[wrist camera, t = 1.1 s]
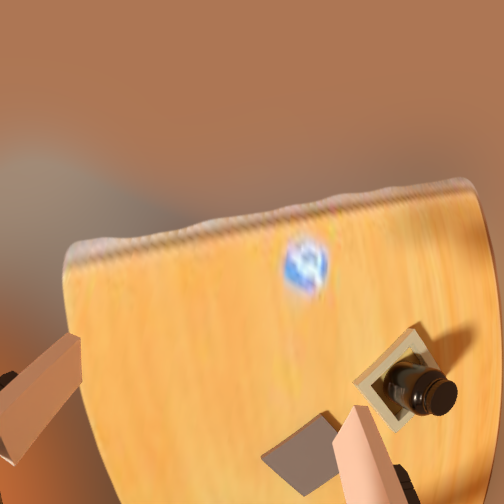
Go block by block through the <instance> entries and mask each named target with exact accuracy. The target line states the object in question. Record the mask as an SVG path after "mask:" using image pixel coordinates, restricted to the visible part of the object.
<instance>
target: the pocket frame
mask: <svg viewBox="0 0 504 504" xmlns="http://www.w3.org/2000/svg"><path fill="white" fill-rule="evenodd" d="M409 347H410V348H411V349H412V351H413V352H414V354H415V355H416V357H417V358H418V360H419V361H420V363H421V364H422V365H424V366H428V367H431V368H435V369H438V370H440V371H441V369H440V368H439V366H438V365H437V363H436V361H435V360H434V358H433V357H432V355H431V353H430V352H429V350H428V349H427V347H426V346H425V344H424V342H423V341H422V339H421V338H420V336H419V335H418V333H417V332H416V330H415V329H411V328H408V329H407V330H406V331H405V332H404V333H403V334H402V335H401V336H400V337H399V338H398V339H397V340H396V341H395V342H394V343H393V344H392V345H391V346H390V347H389V348H388V349H387V350H386V351H385V352H384V353H383V354H382V355H381V356H380V357H379V358H378V359H377V360H376V361H375V362H374V363H373V364H372V365H371V366H370V367H369V368H368V369H367V370H366V371H364V372H363V373H362V374H361V375H360V376H359V377H358V378H357V379H356V380H355V381H353V382H352V383H353V384H354V385H355V386H356V388H357V389H358V390H359V391H360V392H361V394H362V395H363V396H364V397H365V399H366V400H367V401H368V402H369V404H370V405H371V406H372V407H373V409H374V410H375V411H376V412H377V413H378V415H379V416H380V417H381V418H382V420H383V421H384V422H385V423H386V425H387V426H388V427H389V428H390V429H391V430H392V431H393V432H395V433H397V432H398V431H399V430H400V429H401V428H402V427H403V426H404V425H405V424H406V423H407V422H408V421H409V420H410V419H411V418H412V417H413V416H414V415H415V414H414V413H412V412H410V411H408V410H406V409H405V408H402V409H401V410H400V411H399V412H398V413H397V414H396V415H395V416H394V415H393V414H392V412H391V411H390V410H389V408H388V407H387V406H386V405H385V403H384V402H383V401H382V399H381V398H380V397H379V396H378V394H377V393H376V392H375V391H374V389H373V388H372V387H371V385H372V384H373V383H374V382H375V381H376V380H377V379H378V378H379V377H380V376H381V375H382V374H383V373H384V372H385V371H386V370H387V369H388V368H389V367H390V366H391V365H392V364H393V363H394V362H395V361H396V360H397V359H398V358H399V357H400V356H401V355H402V354H403V353H404V352H405V351H406V350H407V349H408V348H409Z"/></svg>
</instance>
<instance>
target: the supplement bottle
mask: <svg viewBox="0 0 504 504" xmlns="http://www.w3.org/2000/svg"><path fill="white" fill-rule="evenodd" d="M383 390H384V394H385V396H386V397H387V398H388V399H389V400H390V401H392V402H394V403H395V404H397V405H399V406H401V407H403V408H405V409H406V410H408V411H410V412H412V413H414V414H416V415H419V416H426V415H429V414H433V415H435V416H441V415H444V414H446V413H447V412H449V410H451V408H452V407H453V405H454V404H455V401H456V398H457V394H458V393H457V392H458V390H457V387H456V385H455V383H453V382H452V381H450V380H447V378H446V376H445V374H444V373H443V372H442V371H440V370H438V369H435V368H431V367H428V366H424V365H420V364H416V363H413V362H408V361H402V362H399V363H397V364H395V365H394V366H393V367H391V368H390V370H389V371H388V372H387V374H386V376H385V378H384V382H383Z"/></svg>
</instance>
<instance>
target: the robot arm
mask: <svg viewBox="0 0 504 504" xmlns="http://www.w3.org/2000/svg"><path fill="white" fill-rule="evenodd" d="M81 383H82V370H81V344H80V337H77V336H75V335H72V334H70V333H66V334H65V335H64V336H63V337H61V338H60V339H59V340H58V341H57V342H56V343H54V344H53V345H52V346H51V347H50V348H49V349H47V350H46V351H45V352H44V353H43V354H42V355H40V356H39V357H38V358H37V359H36V360H35V361H34V362H32V363H31V364H30V365H29V366H28V367H27V368H26V369H24V370H23V371H22V372H21V373H20V374H17V373H15V372H14V371H11V372H8V373H6V374H3V375H2V376H1V377H0V456H1V457H2V458H4V459H5V460H6V461H8V462H9V463H11V464H12V465H14V466H16V465H17V463H18V462H19V461H20V459H21V458H22V457H23V455H24V454H25V453H26V451H27V450H28V449H29V447H30V446H31V445H32V444H33V442H34V441H35V440H36V438H37V437H38V436H39V435H40V433H41V432H42V431H43V429H44V428H45V427H46V426H47V424H48V423H49V422H50V421H51V419H52V418H53V417H54V416H55V414H56V413H57V412H58V411H59V409H60V408H61V407H62V406H63V404H64V403H65V402H66V401H67V400H68V398H69V397H70V396H71V395H72V393H73V392H74V391H75V390H76V389H77V387H78V386H79V385H80V384H81ZM332 445H333V449H334V453H335V457H336V461H337V465H338V469H339V474H340V478H341V482H342V486H343V491H344V495H345V499H346V504H421V503H420V501H419V499H418V496H417V494H416V491H415V489H413V488H414V487H413V484H412V482H411V480H410V478H409V475H408V473H407V471H406V470H405V469H404V468H403V467H402V466H401V465H400V464H398V465H393V464H392V462H391V460H390V457H389V455H388V452H387V450H386V448H385V445H384V443H383V440H382V438H381V436H380V433H379V431H378V429H377V426H376V424H375V422H374V420H373V417H372V415H371V413H370V410H369V408H368V406H358V405H354V406H353V408H352V410H351V411H350V413H349V415H348V417H347V419H346V420H345V422H344V424H343V425H342V427H341V429H340V431H339V432H338V434H337V436H336V437H335V439H334V440H333V442H332ZM0 504H3V503H2V498H1V493H0Z"/></svg>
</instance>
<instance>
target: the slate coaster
mask: <svg viewBox="0 0 504 504" xmlns="http://www.w3.org/2000/svg"><path fill="white" fill-rule="evenodd" d="M337 434H338V432H337V431H336V430H335V429H334V428H333V427H332V426H331V425H330V424H329V422H328V421H327V420H326V419H325V418H324V417H323V416H322V415H321V414H319V415H317V416H316V417H315V418H314V419H312V420H311V421H310V422H308V423H307V424H306V425H304V426H303V427H302V428H300V429H299V430H298V431H296V432H295V433H294V434H292V435H291V436H290V437H288V438H287V439H285V440H284V441H282V442H281V443H280V444H278V445H277V446H275V447H274V448H272V449H271V450H269V451H268V452H266V453H265V454H263V455H262V456H261V459H262V460H263V461H264V462H265V463H266V464H267V465H268V466H269V467H270V468H271V469H273V470H274V471H275V472H276V473H277V474H278V475H279V476H280V477H281V478H283V479H284V480H285V481H286V482H287V483H288V484H290V485H291V486H292V487H293V488H294V489H295V490H297V491H298V492H299V493H300V494H301V495H303V496H306V495H308V494H309V493H311V492H312V491H314V490H315V489H317V488H318V487H320V486H321V485H323V484H324V483H326V482H327V481H328V480H330V479H331V478H333V477H334V476H335V475H337V474H338V473H339V469H338V465H337V461H336V457H335V453H334V449H333V445H332V442H333V440H334V439H335V437H336V436H337Z"/></svg>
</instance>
